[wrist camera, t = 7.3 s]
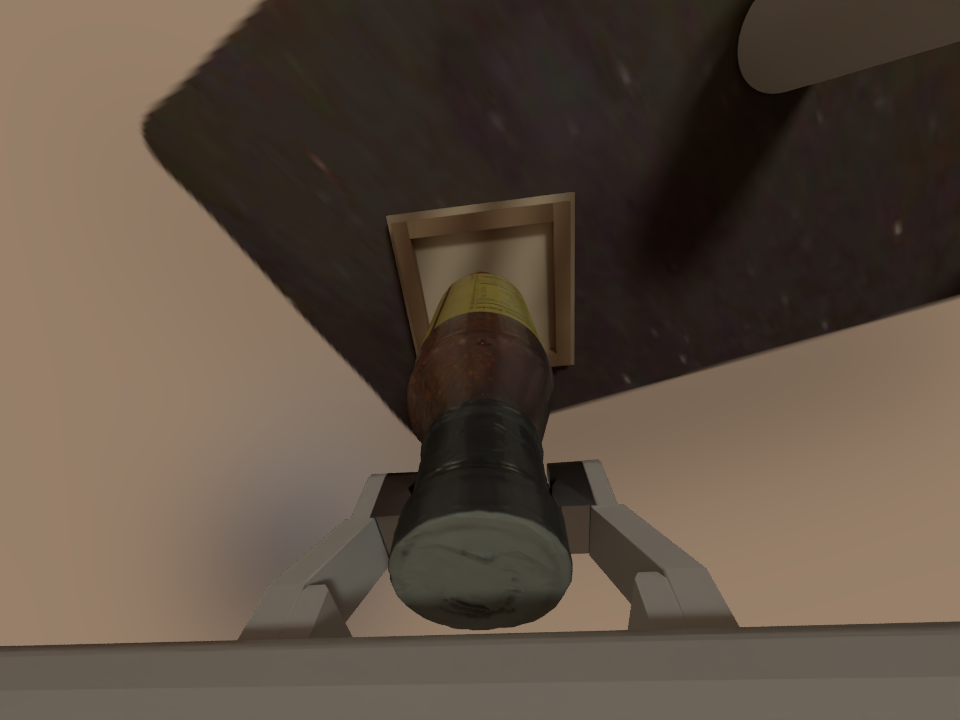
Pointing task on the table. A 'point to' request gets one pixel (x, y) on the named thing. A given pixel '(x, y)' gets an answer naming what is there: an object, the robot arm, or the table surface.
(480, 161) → the table surface
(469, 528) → the sauce bottle
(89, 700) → the robot arm
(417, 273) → the seat plate
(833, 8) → the mug
